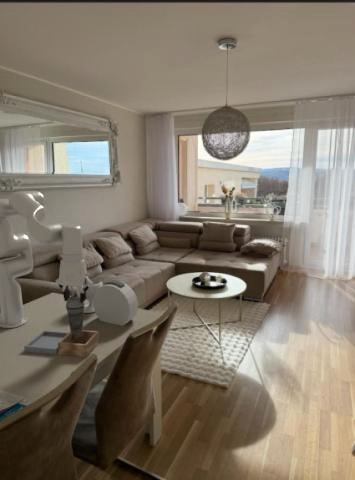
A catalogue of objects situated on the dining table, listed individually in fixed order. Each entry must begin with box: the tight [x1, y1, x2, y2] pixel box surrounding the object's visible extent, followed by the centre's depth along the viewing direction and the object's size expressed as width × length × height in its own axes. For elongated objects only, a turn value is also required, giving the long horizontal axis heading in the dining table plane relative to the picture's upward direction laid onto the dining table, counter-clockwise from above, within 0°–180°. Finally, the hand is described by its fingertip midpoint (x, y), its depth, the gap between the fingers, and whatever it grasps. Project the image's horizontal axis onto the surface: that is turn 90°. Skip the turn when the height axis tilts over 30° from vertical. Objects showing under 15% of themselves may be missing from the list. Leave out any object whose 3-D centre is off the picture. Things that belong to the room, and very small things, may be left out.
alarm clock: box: [93, 279, 139, 327], centre depth 161 cm, size 21×8×20 cm, turn 65°
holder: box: [58, 329, 101, 358], centre depth 136 cm, size 12×12×5 cm
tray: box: [23, 330, 70, 355], centre depth 140 cm, size 14×14×2 cm
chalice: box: [75, 278, 104, 314], centre depth 175 cm, size 14×14×15 cm
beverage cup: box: [65, 287, 86, 334], centre depth 134 cm, size 7×7×20 cm
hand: (75, 300), depth 133 cm, fingers closed on beverage cup, 6 cm apart
